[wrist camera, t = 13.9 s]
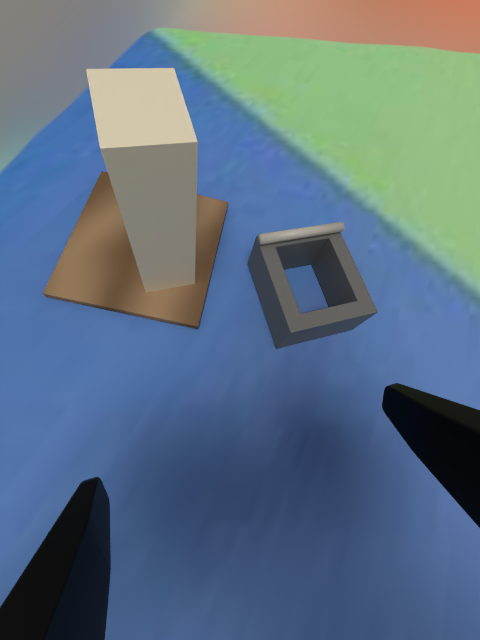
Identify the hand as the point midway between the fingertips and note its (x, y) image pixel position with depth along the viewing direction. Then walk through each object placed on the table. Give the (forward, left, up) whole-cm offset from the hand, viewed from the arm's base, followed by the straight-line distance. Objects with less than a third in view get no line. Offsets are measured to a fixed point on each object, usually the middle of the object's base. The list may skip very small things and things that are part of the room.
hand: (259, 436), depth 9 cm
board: (+9, -14, -14) cm, 22 cm away
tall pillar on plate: (+7, -13, -13) cm, 20 cm away
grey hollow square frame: (-5, -13, -14) cm, 19 cm away
